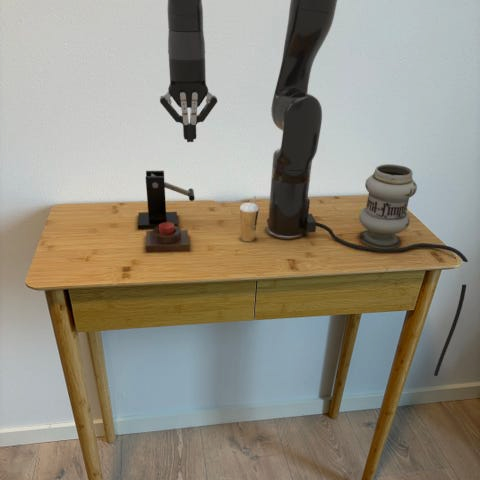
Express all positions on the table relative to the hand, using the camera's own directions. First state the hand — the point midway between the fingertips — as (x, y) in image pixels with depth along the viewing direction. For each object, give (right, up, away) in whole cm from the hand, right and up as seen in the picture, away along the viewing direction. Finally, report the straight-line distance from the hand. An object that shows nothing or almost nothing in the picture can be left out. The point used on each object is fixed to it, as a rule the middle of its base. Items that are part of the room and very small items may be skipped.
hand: (190, 141), depth 112 cm
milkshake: (+13, -20, +11) cm, 27 cm away
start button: (-6, -20, +5) cm, 21 cm away
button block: (-6, -22, +6) cm, 24 cm away
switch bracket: (-10, -15, +16) cm, 24 cm away
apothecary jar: (+47, -21, +12) cm, 52 cm away
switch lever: (-6, -8, +12) cm, 16 cm away
